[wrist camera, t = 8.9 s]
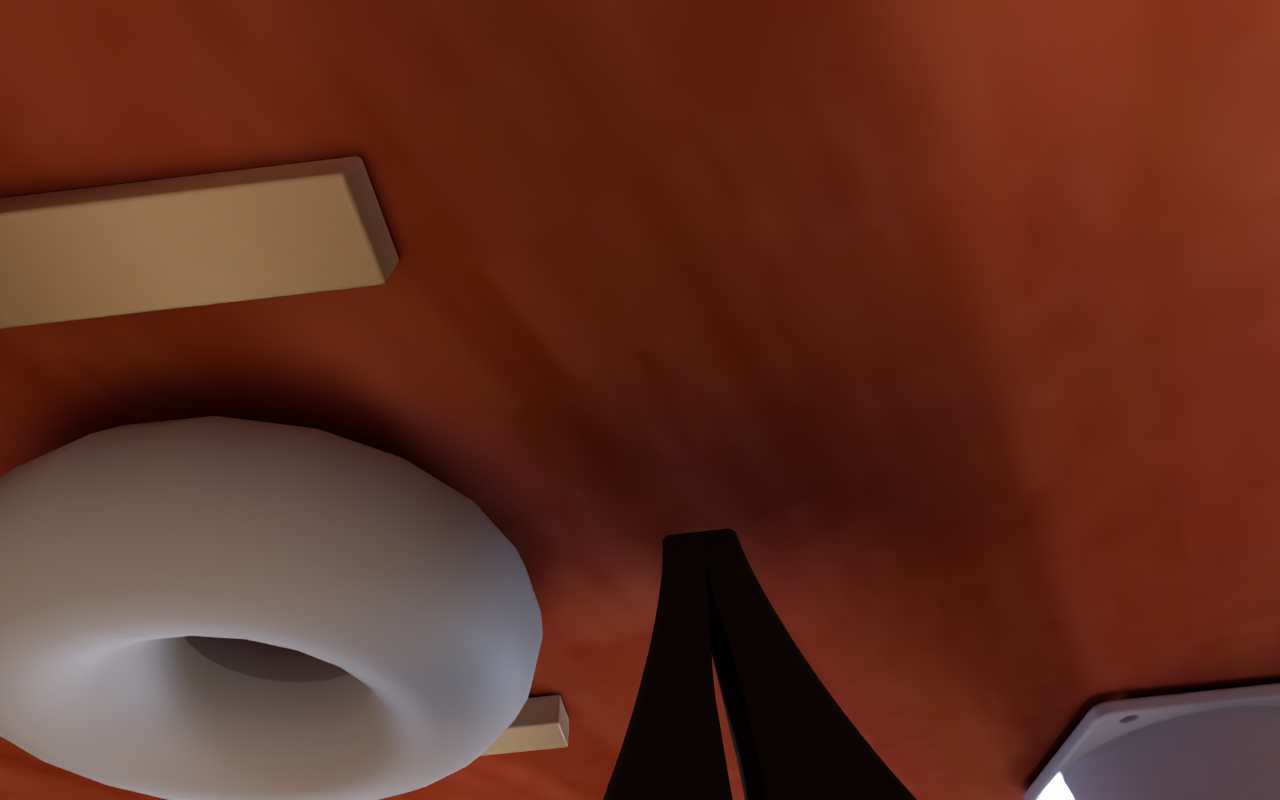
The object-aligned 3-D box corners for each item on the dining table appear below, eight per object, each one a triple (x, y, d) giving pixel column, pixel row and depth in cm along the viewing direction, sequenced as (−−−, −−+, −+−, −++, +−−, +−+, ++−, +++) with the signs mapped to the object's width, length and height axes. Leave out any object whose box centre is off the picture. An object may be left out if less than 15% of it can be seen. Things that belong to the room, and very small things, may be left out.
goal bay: (362, 153, 8) (341, 172, 7) (569, 718, 18) (568, 747, 17) (-564, 263, 8) (-665, 291, 7) (152, 761, 18) (135, 792, 17)
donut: (339, 714, 17) (636, 594, 14) (287, 864, 14) (642, 755, 11) (-75, 524, 12) (261, 262, 9) (-286, 707, 9) (99, 416, 6)
